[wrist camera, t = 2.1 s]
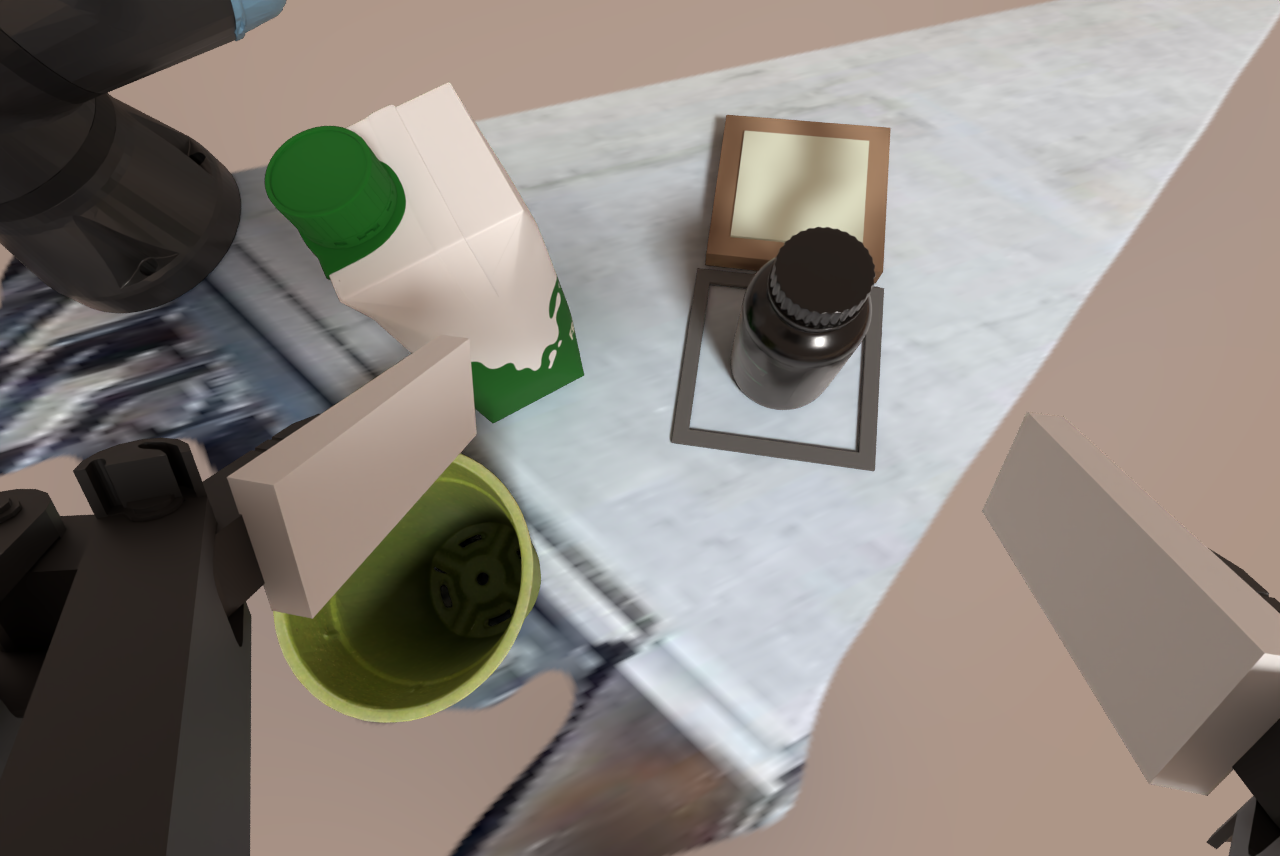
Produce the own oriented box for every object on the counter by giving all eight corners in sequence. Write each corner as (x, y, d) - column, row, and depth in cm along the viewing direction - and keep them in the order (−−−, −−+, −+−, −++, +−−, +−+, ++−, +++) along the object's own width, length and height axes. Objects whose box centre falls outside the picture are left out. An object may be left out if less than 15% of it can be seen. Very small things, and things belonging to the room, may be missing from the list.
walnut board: (705, 265, 41) (706, 251, 39) (724, 130, 44) (726, 112, 42) (875, 283, 40) (883, 270, 38) (883, 143, 43) (891, 125, 41)
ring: (671, 442, 37) (671, 441, 37) (697, 270, 41) (697, 268, 40) (873, 470, 36) (874, 470, 36) (882, 290, 39) (883, 288, 39)
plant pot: (478, 451, 38) (400, 397, 27) (614, 563, 35) (587, 551, 25) (354, 594, 36) (215, 597, 25) (489, 724, 33) (400, 790, 22)
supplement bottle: (818, 312, 39) (878, 197, 28) (841, 404, 37) (915, 322, 26) (721, 327, 39) (740, 219, 28) (739, 419, 37) (767, 344, 26)
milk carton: (437, 339, 40) (221, 114, 21) (549, 282, 41) (438, 14, 22) (486, 442, 38) (294, 293, 19) (604, 379, 39) (535, 175, 20)
